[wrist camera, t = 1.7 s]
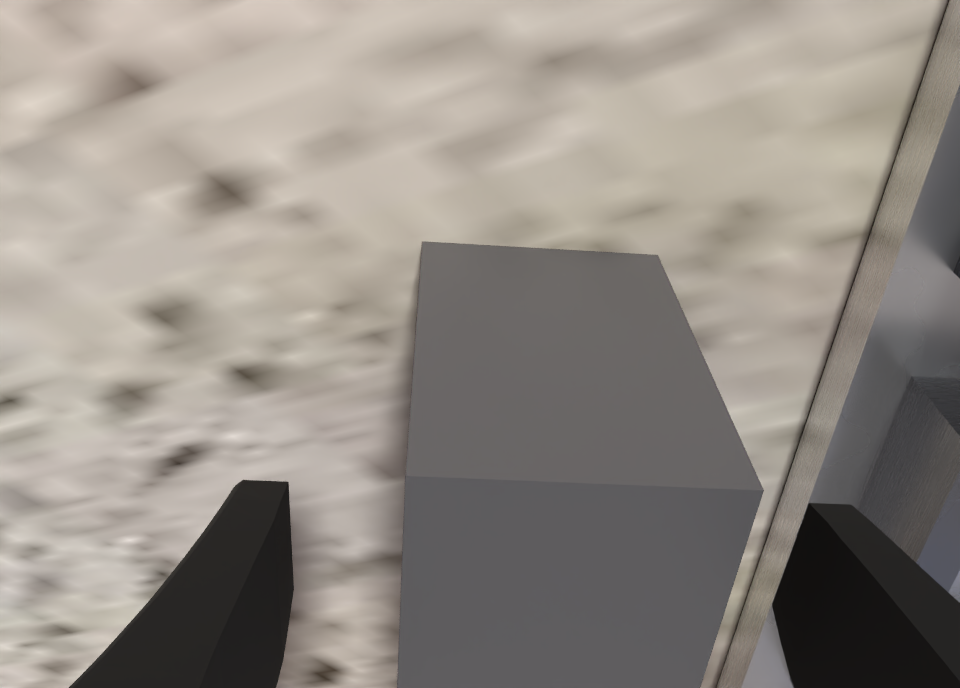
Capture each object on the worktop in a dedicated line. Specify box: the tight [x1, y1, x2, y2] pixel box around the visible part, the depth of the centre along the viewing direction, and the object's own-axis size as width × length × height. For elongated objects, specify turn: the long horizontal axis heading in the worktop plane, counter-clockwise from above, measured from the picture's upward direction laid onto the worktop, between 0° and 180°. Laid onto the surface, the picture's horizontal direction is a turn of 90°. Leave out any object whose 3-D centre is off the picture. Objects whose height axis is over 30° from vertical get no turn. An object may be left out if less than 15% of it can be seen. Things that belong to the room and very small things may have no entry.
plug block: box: [397, 242, 764, 688], centre depth 13 cm, size 5×4×6 cm
